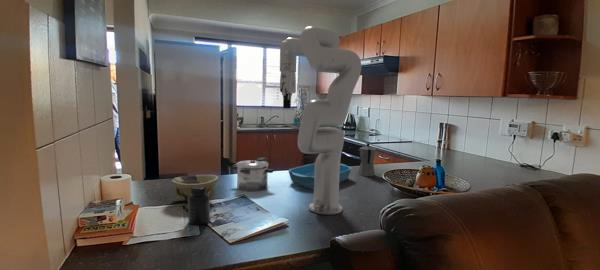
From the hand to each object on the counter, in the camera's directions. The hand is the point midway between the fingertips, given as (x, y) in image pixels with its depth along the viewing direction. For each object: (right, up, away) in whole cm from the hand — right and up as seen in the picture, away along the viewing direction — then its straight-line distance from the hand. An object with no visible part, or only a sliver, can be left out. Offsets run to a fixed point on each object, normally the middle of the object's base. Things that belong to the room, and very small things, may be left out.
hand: (286, 108), depth 153 cm
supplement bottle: (-28, -42, -44) cm, 67 cm away
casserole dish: (+17, -37, +13) cm, 43 cm away
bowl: (-36, -39, -22) cm, 58 cm away
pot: (-16, -37, 0) cm, 40 cm away
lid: (-15, -26, +1) cm, 30 cm away
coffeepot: (+44, -35, +30) cm, 64 cm away
